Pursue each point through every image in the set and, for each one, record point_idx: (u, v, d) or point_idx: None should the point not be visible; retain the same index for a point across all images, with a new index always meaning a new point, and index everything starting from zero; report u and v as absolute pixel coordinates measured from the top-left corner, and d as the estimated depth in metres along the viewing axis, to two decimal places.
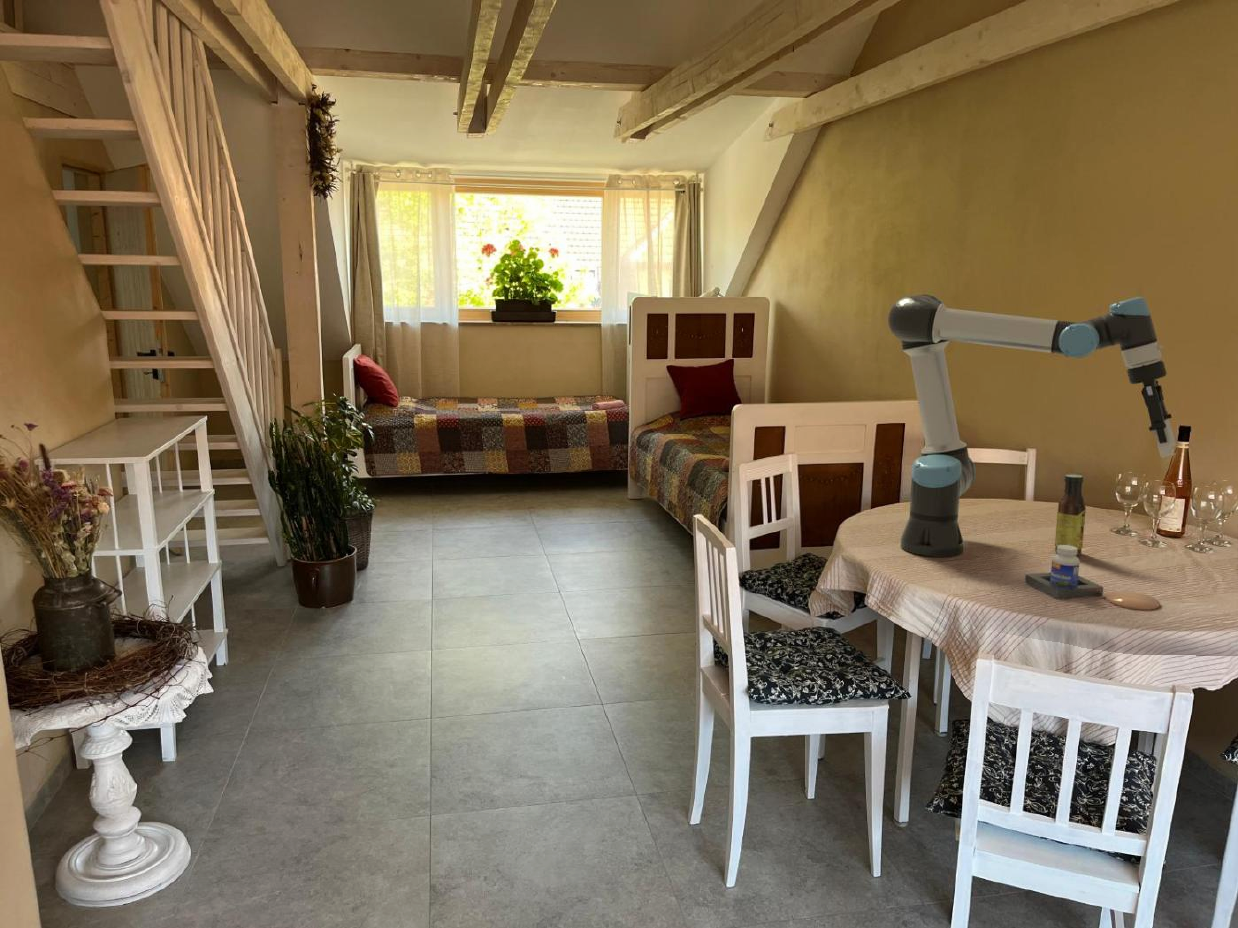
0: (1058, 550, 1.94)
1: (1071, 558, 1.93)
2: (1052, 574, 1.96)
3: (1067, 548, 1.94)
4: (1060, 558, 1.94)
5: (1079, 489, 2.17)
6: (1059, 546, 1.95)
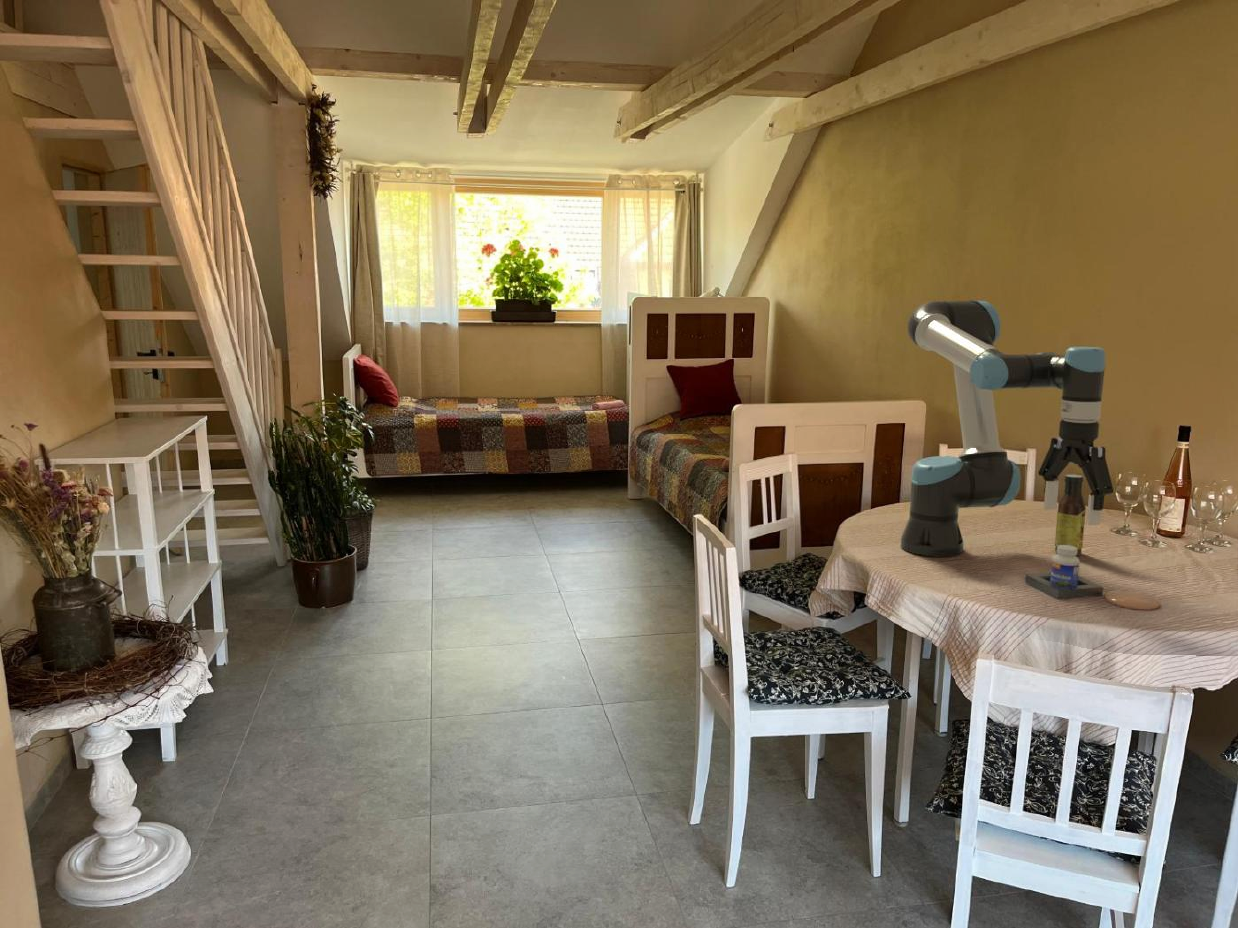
0: (1058, 550, 1.94)
1: (1071, 558, 1.93)
2: (1052, 574, 1.96)
3: (1067, 548, 1.94)
4: (1060, 558, 1.94)
5: (1079, 489, 2.17)
6: (1059, 546, 1.95)
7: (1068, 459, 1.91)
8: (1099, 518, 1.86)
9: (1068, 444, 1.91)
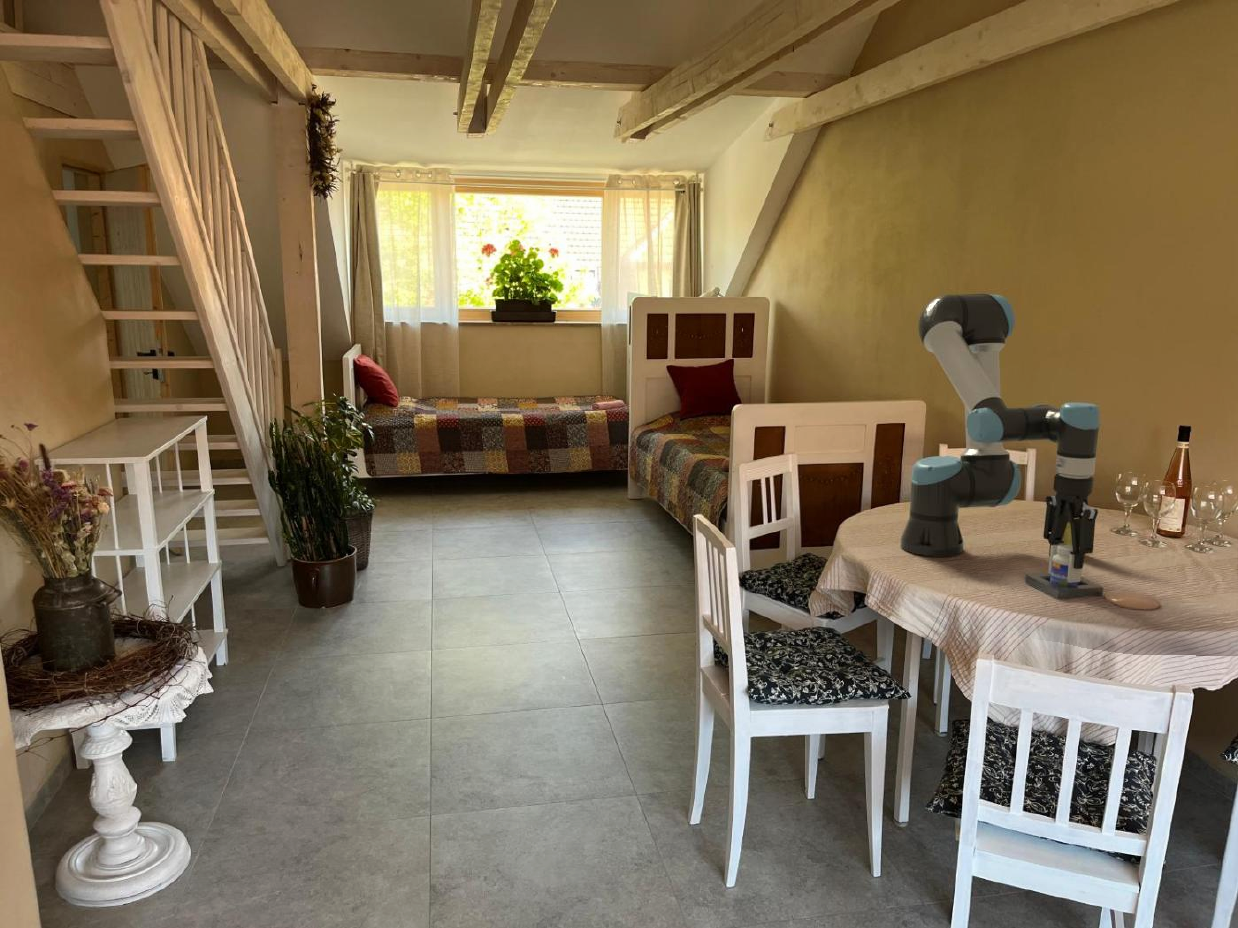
0: (1058, 550, 1.94)
1: None
2: (1052, 574, 1.96)
3: (1067, 548, 1.94)
4: (1060, 558, 1.94)
5: None
6: (1059, 546, 1.95)
7: (1062, 512, 1.94)
8: (1079, 576, 1.92)
9: (1062, 494, 1.93)
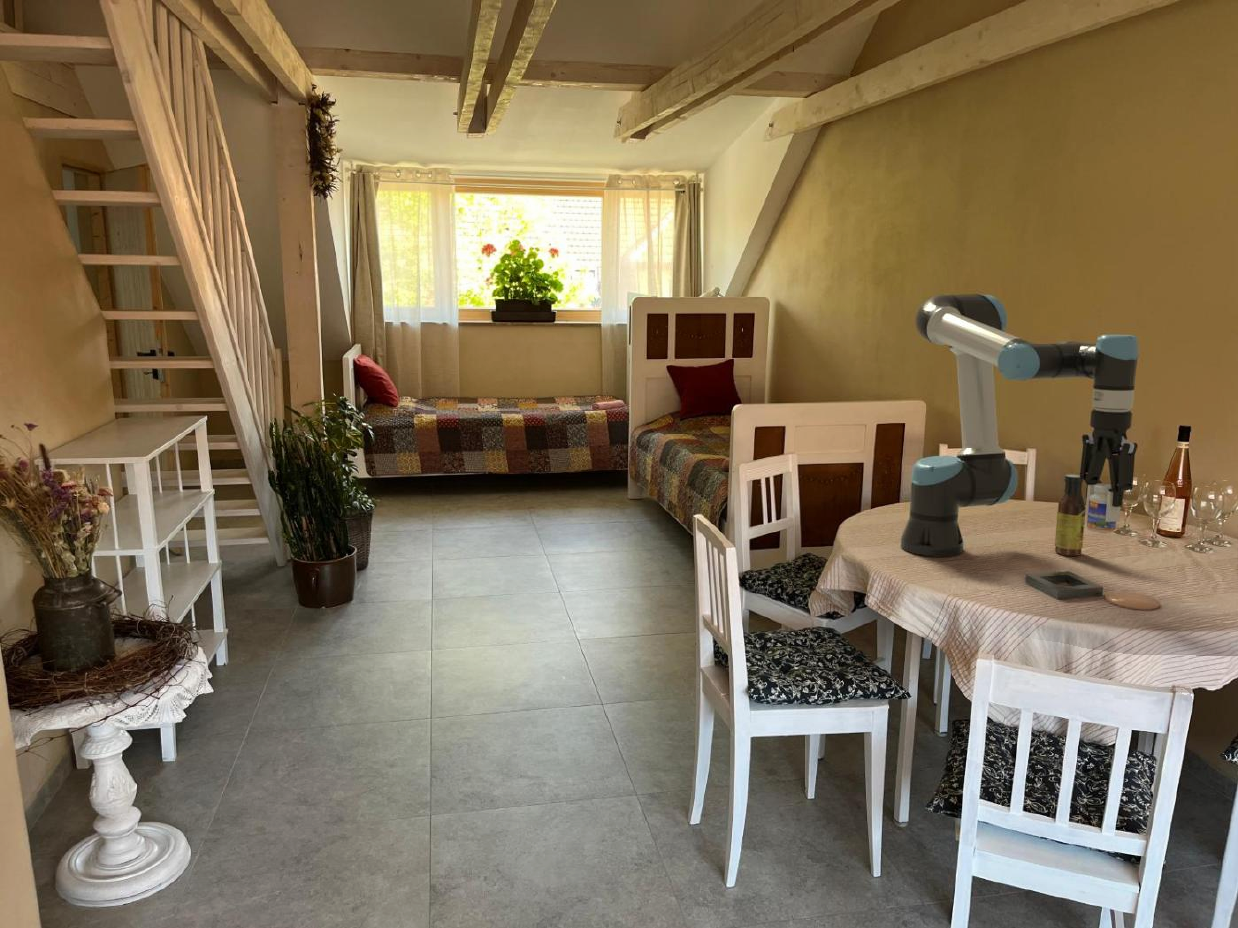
0: (1095, 489, 1.88)
1: None
2: (1089, 514, 1.89)
3: (1105, 486, 1.87)
4: (1097, 497, 1.87)
5: (1079, 489, 2.18)
6: (1096, 485, 1.88)
7: (1100, 450, 1.87)
8: (1118, 515, 1.85)
9: (1099, 431, 1.87)
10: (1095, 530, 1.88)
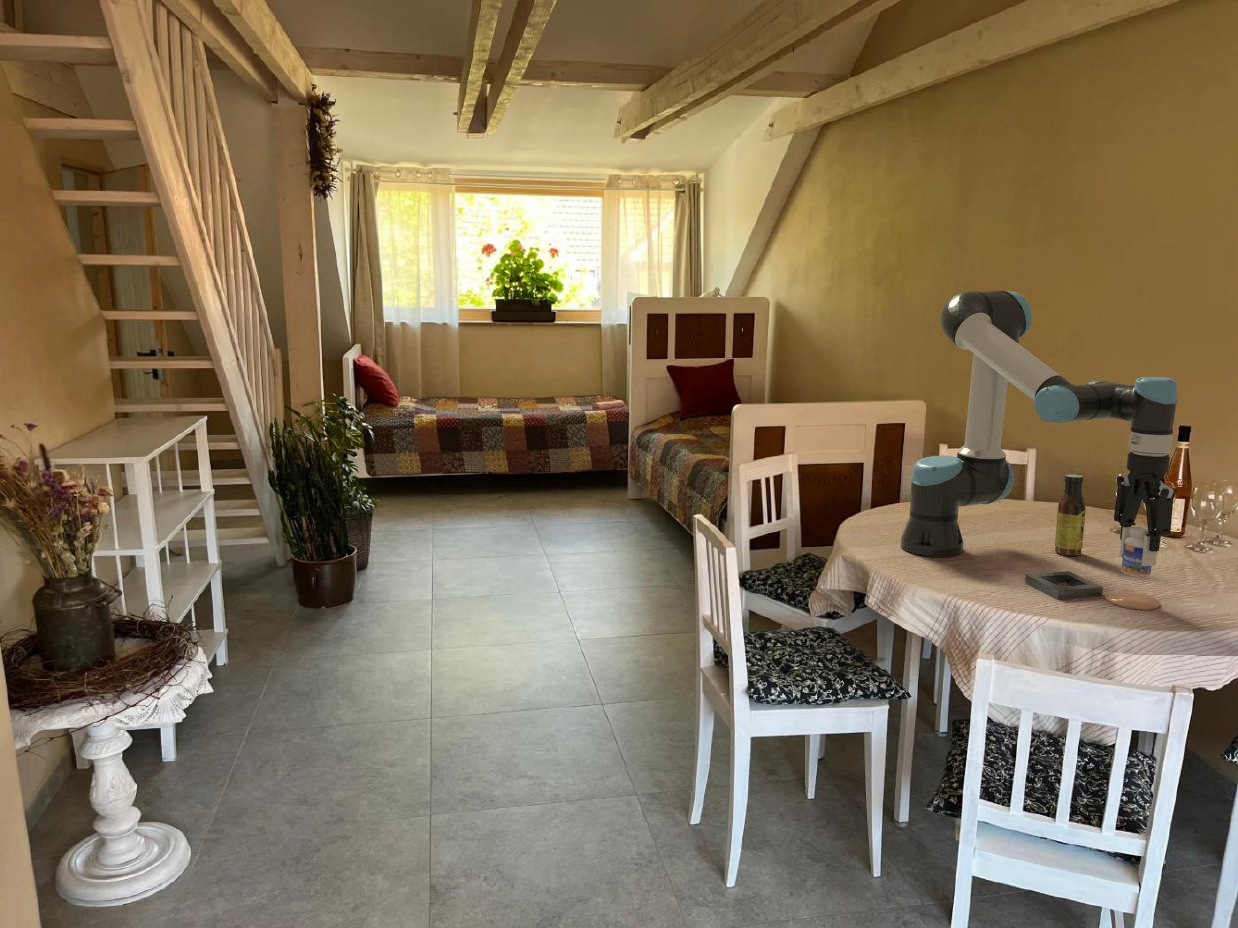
0: (1131, 532, 1.85)
1: None
2: (1125, 557, 1.86)
3: (1141, 530, 1.84)
4: (1133, 541, 1.84)
5: (1079, 489, 2.17)
6: (1132, 528, 1.86)
7: (1136, 493, 1.84)
8: (1155, 559, 1.83)
9: (1136, 474, 1.84)
10: (1131, 574, 1.85)
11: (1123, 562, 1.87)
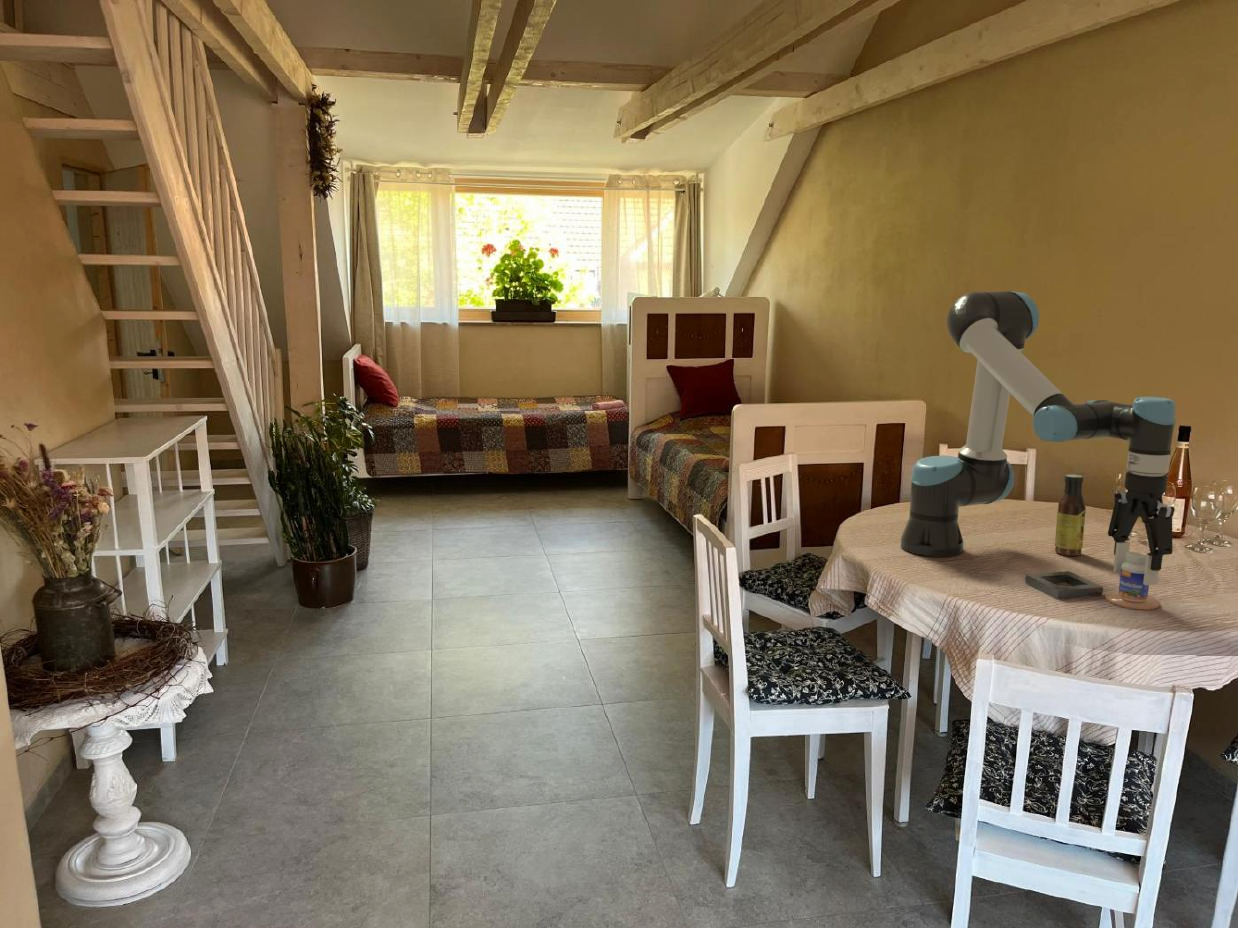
0: (1128, 557, 1.87)
1: (1142, 566, 1.85)
2: (1121, 583, 1.88)
3: (1137, 555, 1.86)
4: (1130, 566, 1.86)
5: (1079, 489, 2.17)
6: (1128, 553, 1.87)
7: (1134, 512, 1.85)
8: (1156, 578, 1.83)
9: (1134, 494, 1.85)
10: (1127, 599, 1.86)
11: (1120, 587, 1.88)
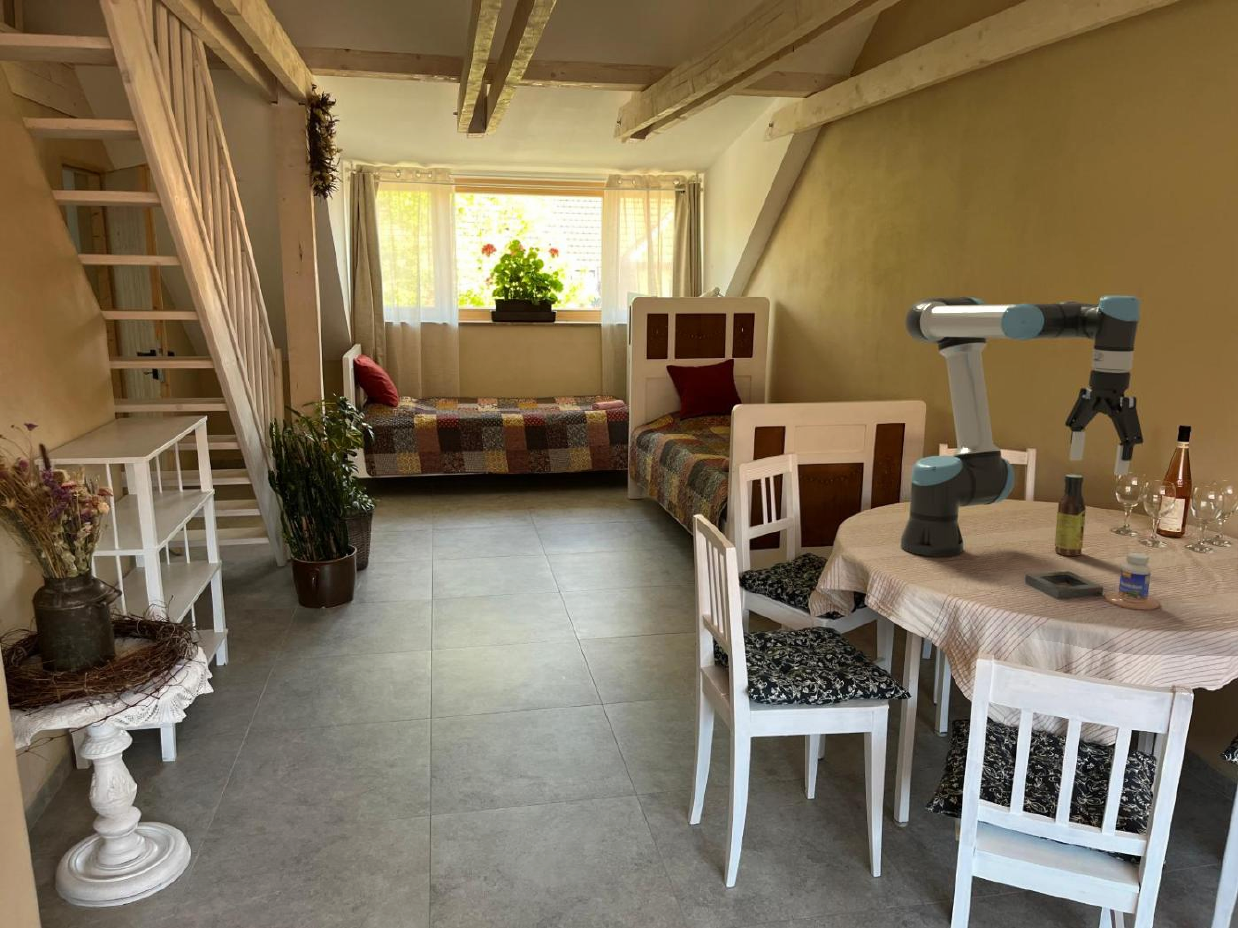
0: (1128, 558, 1.86)
1: (1143, 566, 1.85)
2: (1122, 583, 1.88)
3: (1138, 556, 1.85)
4: (1130, 567, 1.86)
5: (1079, 489, 2.17)
6: (1129, 554, 1.87)
7: (1097, 409, 1.90)
8: (1127, 469, 1.85)
9: (1098, 394, 1.90)
10: (1127, 600, 1.86)
11: (1120, 588, 1.88)
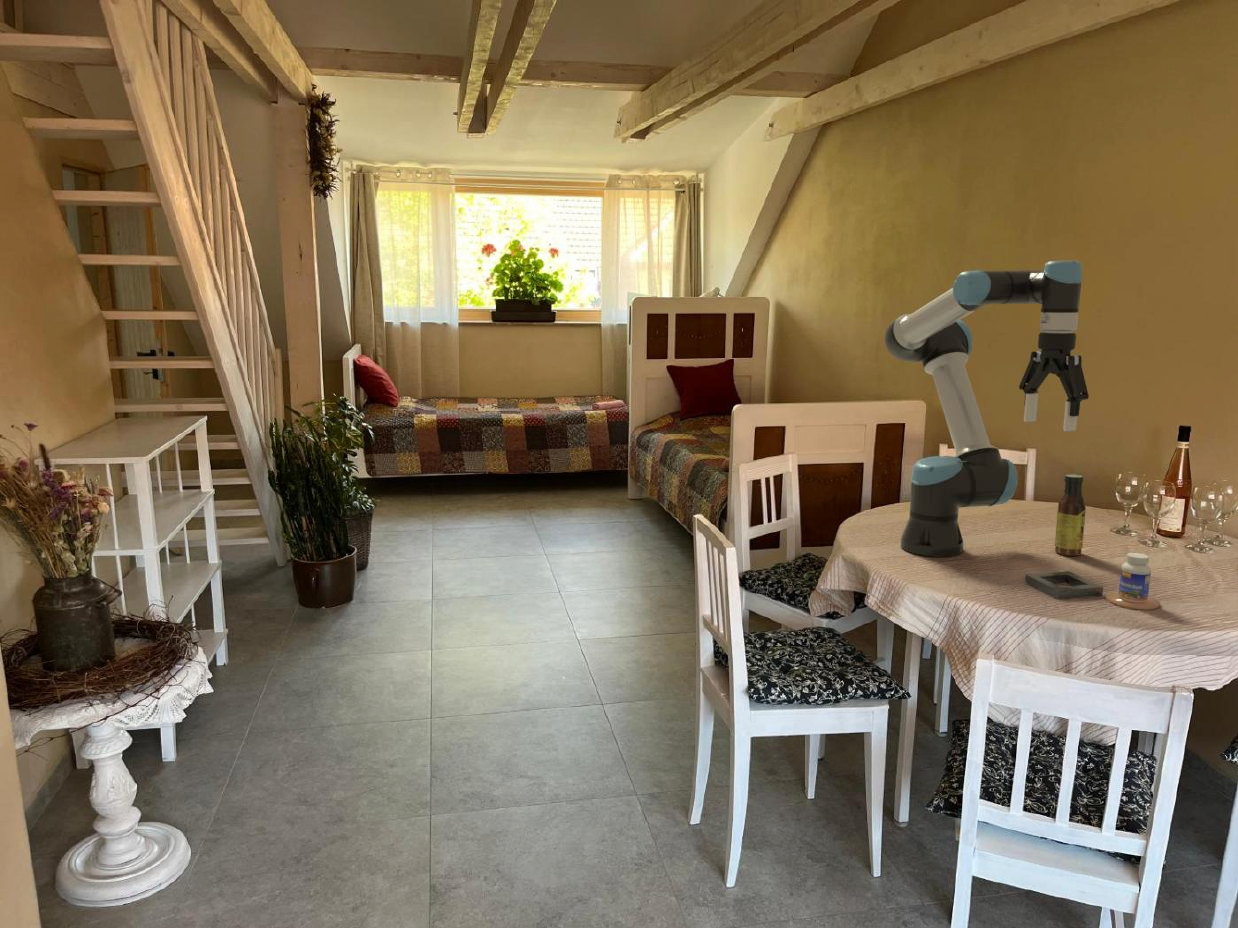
0: (1128, 558, 1.86)
1: (1143, 567, 1.85)
2: (1122, 583, 1.88)
3: (1138, 556, 1.85)
4: (1130, 567, 1.86)
5: (1079, 489, 2.18)
6: (1129, 554, 1.87)
7: (1047, 370, 1.99)
8: (1075, 424, 1.94)
9: (1047, 356, 1.99)
10: (1127, 600, 1.86)
11: (1120, 588, 1.88)
